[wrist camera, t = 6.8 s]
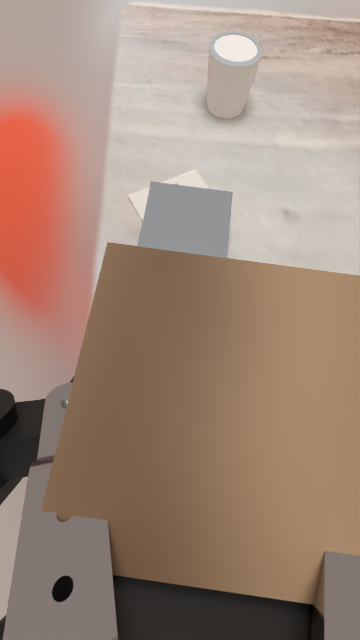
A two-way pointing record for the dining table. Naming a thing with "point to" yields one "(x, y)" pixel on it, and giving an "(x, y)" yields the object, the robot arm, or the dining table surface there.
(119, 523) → the walnut brick
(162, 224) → the base block
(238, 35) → the shot glass
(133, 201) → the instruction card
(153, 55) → the dining table surface
